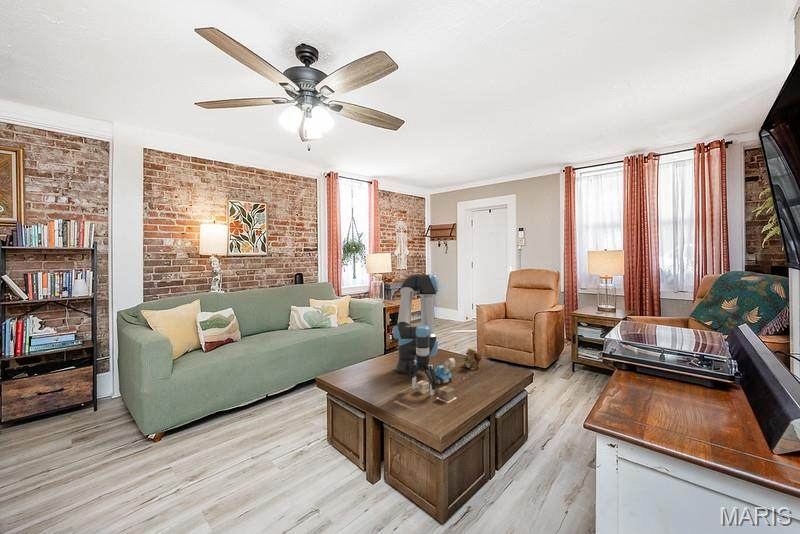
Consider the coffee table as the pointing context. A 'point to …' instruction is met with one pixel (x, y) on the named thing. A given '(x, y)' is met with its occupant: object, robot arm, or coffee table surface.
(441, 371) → the toy excavator
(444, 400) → the pad
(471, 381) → the coffee table surface
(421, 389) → the maple block
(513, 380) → the coffee table surface
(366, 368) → the coffee table surface
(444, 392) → the walnut block
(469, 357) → the stuffed squirrel
